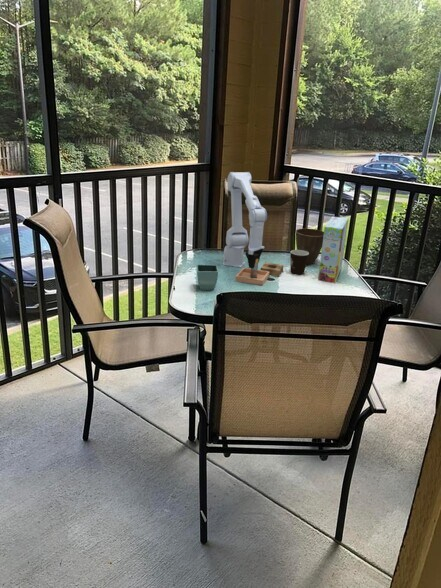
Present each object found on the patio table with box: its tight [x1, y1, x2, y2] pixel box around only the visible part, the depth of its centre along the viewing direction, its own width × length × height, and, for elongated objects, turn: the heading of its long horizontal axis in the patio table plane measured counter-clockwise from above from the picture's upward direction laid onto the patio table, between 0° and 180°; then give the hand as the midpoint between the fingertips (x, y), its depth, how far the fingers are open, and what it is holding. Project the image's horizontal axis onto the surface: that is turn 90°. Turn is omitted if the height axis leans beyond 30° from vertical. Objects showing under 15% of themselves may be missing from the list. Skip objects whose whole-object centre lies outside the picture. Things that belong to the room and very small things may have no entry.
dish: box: [234, 267, 270, 286], centre depth 208 cm, size 13×13×2 cm
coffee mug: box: [289, 249, 309, 276], centre depth 219 cm, size 12×9×10 cm
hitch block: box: [260, 262, 284, 278], centre depth 217 cm, size 9×9×3 cm
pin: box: [250, 258, 259, 279], centre depth 206 cm, size 3×3×9 cm
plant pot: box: [295, 228, 324, 266], centre depth 231 cm, size 15×15×16 cm
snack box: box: [317, 216, 349, 284], centre depth 214 cm, size 22×9×26 cm, turn 159°
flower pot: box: [196, 264, 219, 291], centre depth 194 cm, size 9×9×9 cm
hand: (253, 265), depth 206 cm, fingers open, 7 cm apart
